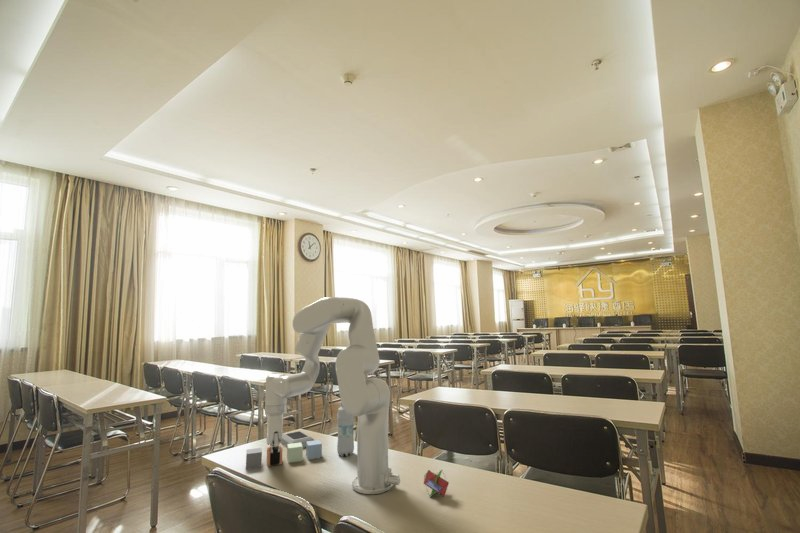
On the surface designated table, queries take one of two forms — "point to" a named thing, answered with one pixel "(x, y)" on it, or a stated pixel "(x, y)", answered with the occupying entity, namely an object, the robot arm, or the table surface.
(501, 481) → the table surface
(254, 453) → the gray block
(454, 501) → the table surface
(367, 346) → the robot arm
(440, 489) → the geometric puzzle
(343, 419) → the bottle
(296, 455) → the sage-green block
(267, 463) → the terracotta block
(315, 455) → the slate-blue block
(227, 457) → the table surface
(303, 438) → the gray dark-screened device
